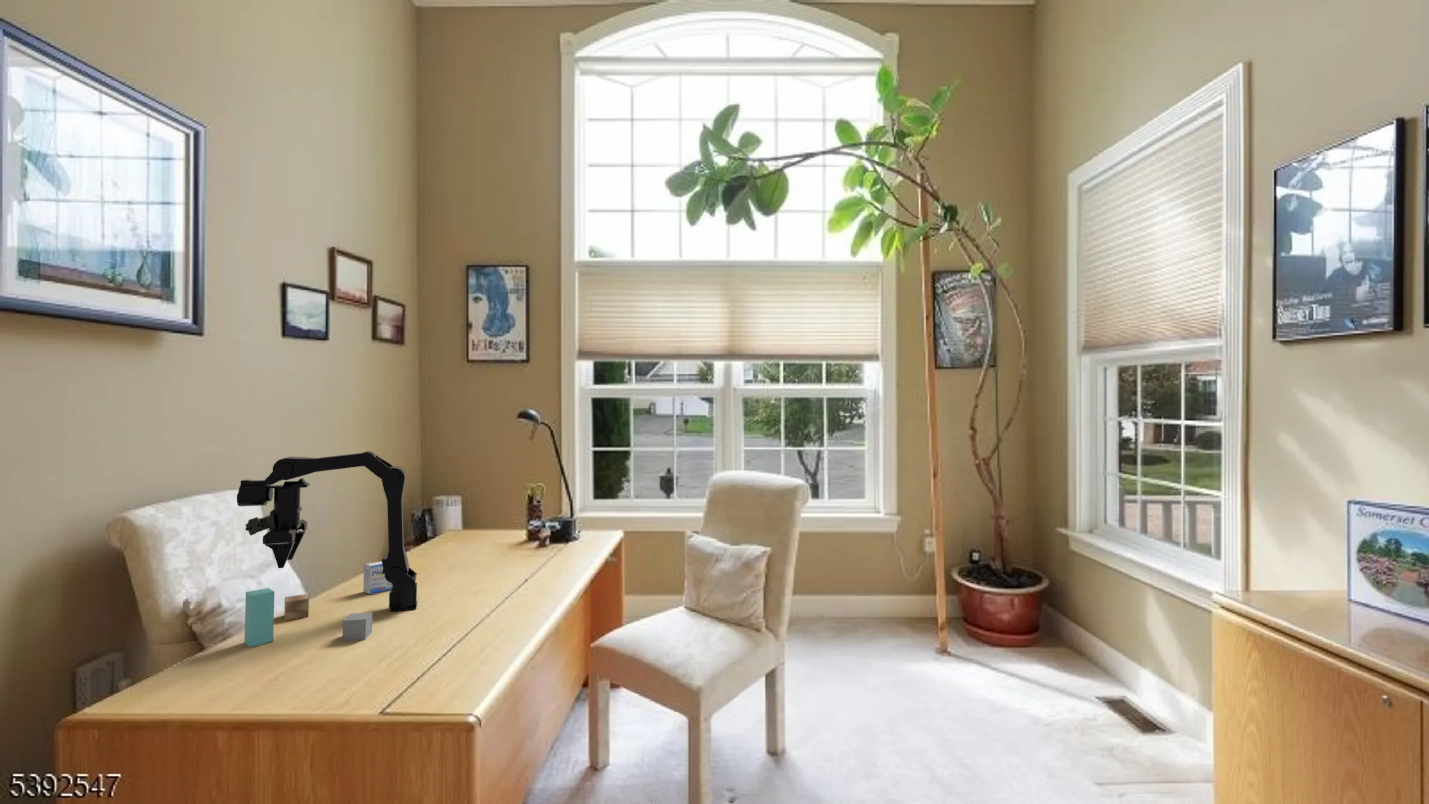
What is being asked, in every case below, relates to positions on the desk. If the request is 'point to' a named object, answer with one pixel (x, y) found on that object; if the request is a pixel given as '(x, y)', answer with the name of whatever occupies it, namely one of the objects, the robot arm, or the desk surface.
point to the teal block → (259, 617)
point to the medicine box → (375, 579)
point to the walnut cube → (296, 607)
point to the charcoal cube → (357, 626)
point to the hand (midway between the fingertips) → (285, 563)
